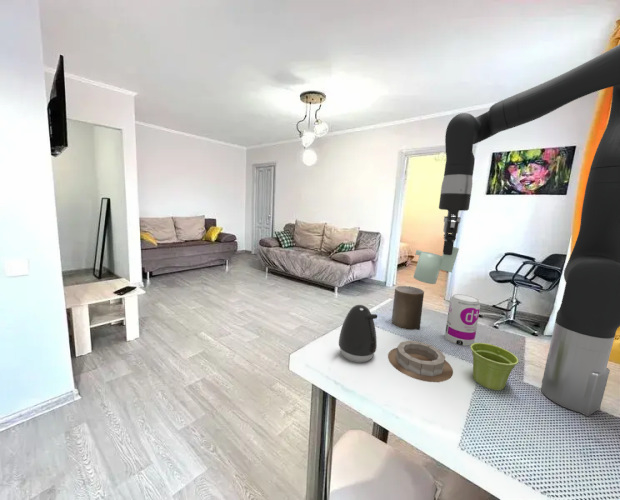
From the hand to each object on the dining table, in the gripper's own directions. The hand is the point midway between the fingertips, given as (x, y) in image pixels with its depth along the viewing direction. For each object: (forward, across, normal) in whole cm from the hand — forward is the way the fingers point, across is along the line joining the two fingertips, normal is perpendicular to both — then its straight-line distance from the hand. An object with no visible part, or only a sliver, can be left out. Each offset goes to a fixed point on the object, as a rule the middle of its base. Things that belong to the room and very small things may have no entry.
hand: (447, 253), depth 77 cm
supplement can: (+29, +7, -7) cm, 31 cm away
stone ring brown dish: (+29, -14, +4) cm, 32 cm away
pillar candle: (+29, +11, +10) cm, 33 cm away
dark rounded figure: (+29, -18, +20) cm, 40 cm away
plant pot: (+29, -14, -12) cm, 34 cm away
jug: (+9, 0, +5) cm, 10 cm away
